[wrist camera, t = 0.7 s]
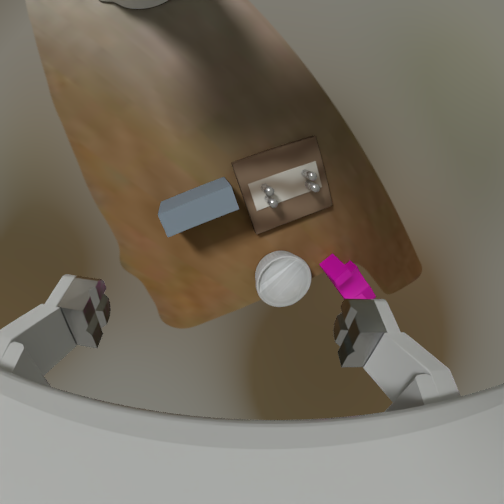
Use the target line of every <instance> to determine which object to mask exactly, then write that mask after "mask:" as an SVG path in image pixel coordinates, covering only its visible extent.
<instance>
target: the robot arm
mask: <svg viewBox="0 0 504 504" xmlns="http://www.w3.org/2000/svg"><path fill="white" fill-rule="evenodd" d="M100 1H107V2H115V3H117V4H119V5H121V6H123V7H126V8H131V9H144V8H150V7H154V6H157V5H160V4H162V3H164V2H166V1H168V0H100ZM105 290H106V286H105V283H104V281H103V280H101V279H95V278H89V277H82V276H74V275H68V274H66V275H64V276H63V277H62V278H61V280H60V281H59V283H58V284H57V286H56V287H55V289H54V290H53V292H52V294H51V295H50V297H49V298H48V300H47V302H46V303H45V305H43V304H41V305H39V306H37V307H36V308H34V309H33V310H31V311H29V312H28V313H26V314H24V315H23V316H21V317H20V318H18V319H16V320H15V321H13V322H12V323H10V324H9V325H7V326H6V327H4V328H3V329H1V330H0V504H504V383H503V384H501V385H498V386H495V387H492V388H488V389H485V390H482V391H479V392H475V393H472V394H468V395H465V396H460V393H459V391H458V388H457V386H456V384H455V381H454V379H453V377H452V374H451V372H450V370H449V369H448V368H447V367H446V366H445V365H443V364H442V363H441V362H440V361H439V360H437V359H436V358H435V357H434V356H433V355H431V354H430V353H429V352H428V351H427V350H425V349H424V348H423V347H422V346H421V345H419V344H418V343H417V342H416V341H414V340H413V339H412V338H411V337H409V336H408V335H407V334H405V333H404V332H400V329H399V327H398V325H397V323H396V320H395V319H394V316H393V314H392V312H391V310H390V307H389V305H388V303H387V301H386V300H385V299H345V300H344V301H343V302H342V305H341V310H342V313H340V314H339V315H338V316H337V317H336V320H335V323H334V339H335V342H336V343H337V344H338V345H339V346H340V348H339V350H338V355H339V359H340V363H341V367H363V368H364V369H365V370H366V372H367V373H368V374H369V375H370V376H371V377H372V379H373V380H374V381H375V382H376V383H377V384H378V385H379V387H380V388H381V389H382V390H383V391H384V392H385V393H386V395H387V396H388V397H389V398H390V399H391V401H392V402H393V404H391V406H390V407H389V408H388V409H387V410H386V411H385V412H383V413H375V414H368V415H359V416H350V417H339V418H325V419H306V420H243V419H225V418H211V417H199V416H190V415H181V414H173V413H166V412H159V411H152V410H146V409H140V408H135V407H129V406H124V405H119V404H114V403H110V402H105V401H101V400H97V399H92V398H89V397H85V396H81V395H77V394H73V393H70V392H67V391H63V390H60V389H56V388H53V387H51V386H50V384H49V383H48V382H47V380H46V379H45V377H44V375H45V374H46V373H47V372H49V370H51V369H52V368H53V367H54V366H55V365H56V364H57V363H58V362H59V361H60V360H62V359H63V358H64V357H65V356H66V355H67V354H68V353H69V352H70V351H71V350H72V349H74V348H75V347H76V345H81V346H87V347H93V348H97V347H98V345H99V342H100V340H101V337H102V335H103V333H102V330H101V328H102V327H104V326H105V325H106V324H107V323H108V320H109V317H110V302H109V298H108V297H107V296H106V295H105V294H104V292H105Z"/></svg>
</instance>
